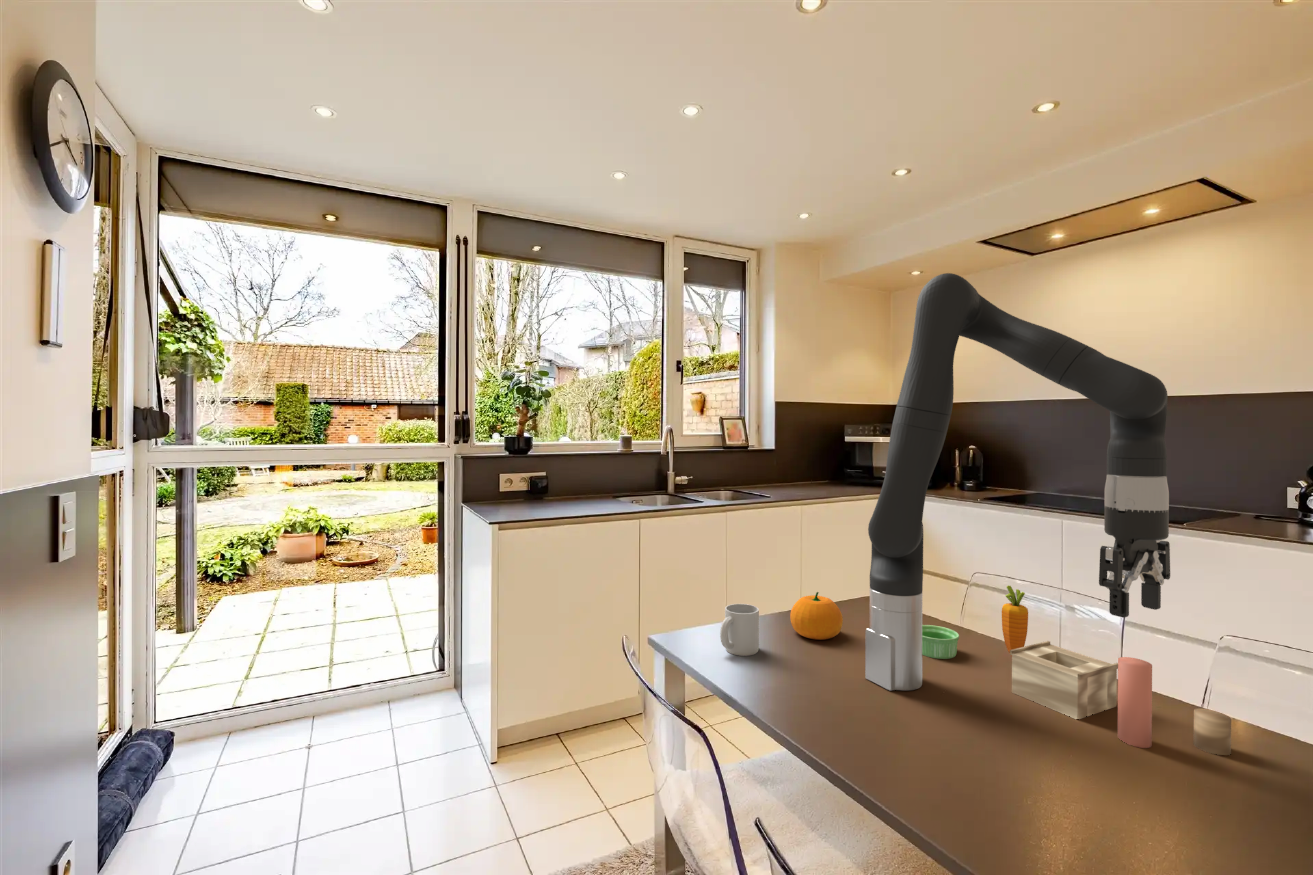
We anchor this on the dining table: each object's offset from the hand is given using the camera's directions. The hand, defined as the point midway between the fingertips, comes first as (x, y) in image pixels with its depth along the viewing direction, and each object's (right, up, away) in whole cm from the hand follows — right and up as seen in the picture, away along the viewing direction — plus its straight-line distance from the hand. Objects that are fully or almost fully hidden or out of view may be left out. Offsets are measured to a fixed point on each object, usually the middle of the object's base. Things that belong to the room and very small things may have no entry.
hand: (1135, 611), depth 88 cm
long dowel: (0, -20, 0) cm, 20 cm away
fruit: (-36, -19, +47) cm, 62 cm away
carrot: (+1, -19, +31) cm, 37 cm away
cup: (-55, -20, +36) cm, 69 cm away
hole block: (-1, -19, +14) cm, 24 cm away
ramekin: (-13, -20, +36) cm, 43 cm away
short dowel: (+10, -20, -2) cm, 22 cm away
